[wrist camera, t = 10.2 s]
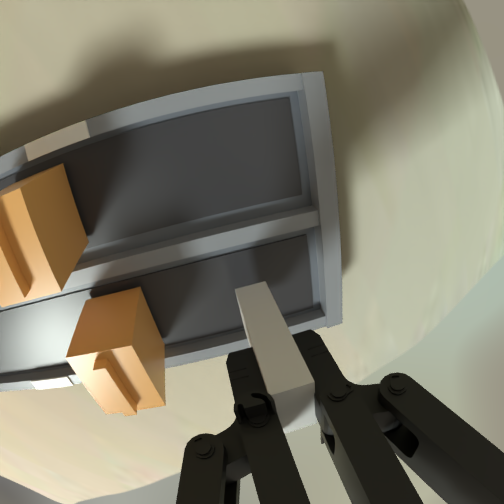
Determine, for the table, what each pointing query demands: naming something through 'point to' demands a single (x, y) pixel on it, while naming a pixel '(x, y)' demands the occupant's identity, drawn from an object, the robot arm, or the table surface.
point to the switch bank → (189, 220)
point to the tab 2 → (119, 353)
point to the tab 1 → (38, 236)
